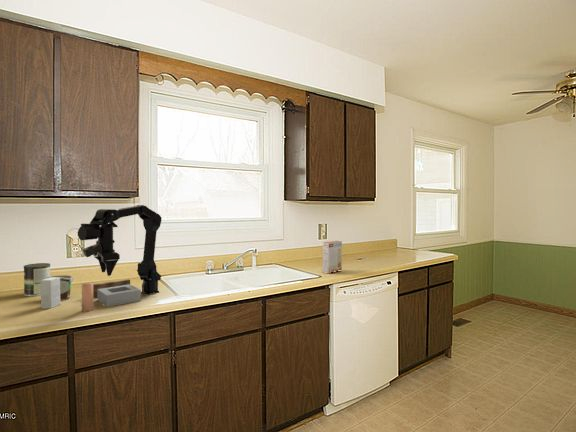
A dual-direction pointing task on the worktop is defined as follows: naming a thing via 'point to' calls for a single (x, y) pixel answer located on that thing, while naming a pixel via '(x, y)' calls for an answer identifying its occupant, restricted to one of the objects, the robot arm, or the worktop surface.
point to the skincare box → (50, 292)
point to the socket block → (118, 295)
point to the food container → (64, 286)
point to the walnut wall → (108, 285)
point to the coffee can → (35, 278)
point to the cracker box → (332, 256)
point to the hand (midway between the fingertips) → (106, 273)
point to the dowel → (87, 297)
